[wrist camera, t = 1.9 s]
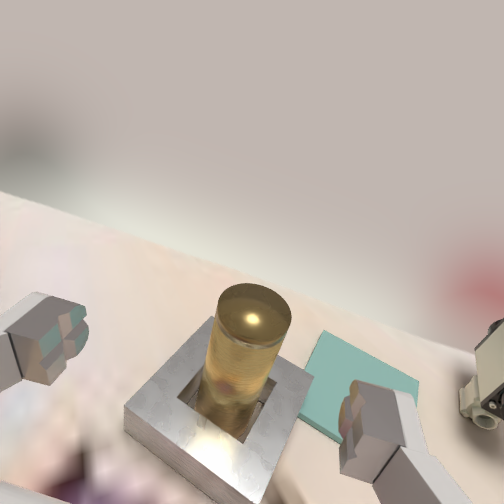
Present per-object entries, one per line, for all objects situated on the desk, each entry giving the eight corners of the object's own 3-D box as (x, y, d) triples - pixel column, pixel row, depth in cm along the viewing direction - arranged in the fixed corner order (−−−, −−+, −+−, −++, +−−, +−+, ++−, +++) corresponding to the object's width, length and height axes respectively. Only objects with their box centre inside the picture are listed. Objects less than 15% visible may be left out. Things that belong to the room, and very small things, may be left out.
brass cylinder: (182, 420, 29) (202, 312, 21) (214, 378, 33) (241, 274, 25) (230, 455, 27) (272, 353, 20) (258, 406, 31) (302, 305, 24)
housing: (124, 430, 27) (124, 405, 25) (206, 340, 36) (211, 315, 34) (245, 525, 24) (258, 506, 22) (301, 399, 33) (314, 376, 31)
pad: (285, 409, 32) (288, 404, 31) (321, 334, 41) (323, 329, 41) (406, 486, 29) (410, 482, 28) (415, 385, 38) (418, 381, 37)
